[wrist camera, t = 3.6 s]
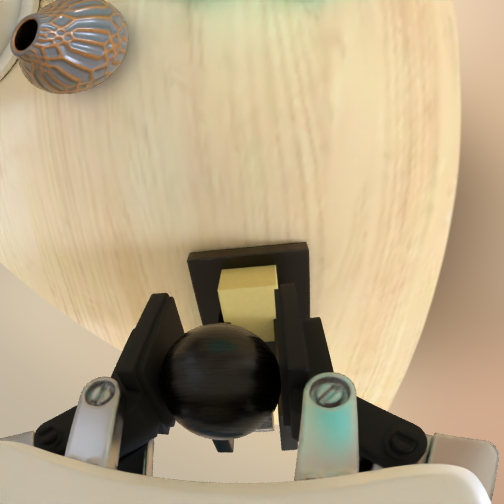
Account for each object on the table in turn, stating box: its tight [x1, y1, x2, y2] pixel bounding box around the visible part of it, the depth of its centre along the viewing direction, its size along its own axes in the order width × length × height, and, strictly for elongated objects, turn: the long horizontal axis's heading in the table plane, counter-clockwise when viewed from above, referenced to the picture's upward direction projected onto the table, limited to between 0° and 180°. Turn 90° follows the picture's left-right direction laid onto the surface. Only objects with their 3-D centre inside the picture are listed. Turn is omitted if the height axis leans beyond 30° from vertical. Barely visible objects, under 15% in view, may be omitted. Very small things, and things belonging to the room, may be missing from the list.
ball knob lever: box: [160, 323, 281, 440], centre depth 12 cm, size 13×4×4 cm, turn 8°
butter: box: [218, 265, 278, 342], centre depth 22 cm, size 5×4×3 cm
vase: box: [10, 0, 128, 94], centre depth 12 cm, size 7×7×9 cm
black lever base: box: [187, 242, 310, 452], centre depth 20 cm, size 12×9×12 cm
